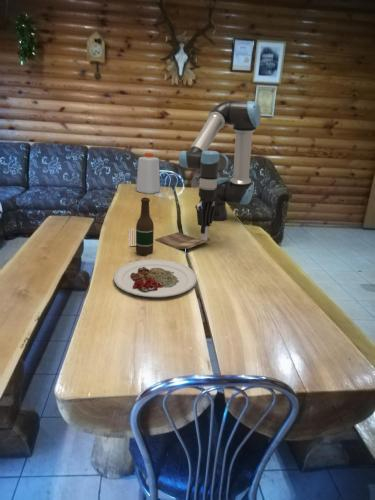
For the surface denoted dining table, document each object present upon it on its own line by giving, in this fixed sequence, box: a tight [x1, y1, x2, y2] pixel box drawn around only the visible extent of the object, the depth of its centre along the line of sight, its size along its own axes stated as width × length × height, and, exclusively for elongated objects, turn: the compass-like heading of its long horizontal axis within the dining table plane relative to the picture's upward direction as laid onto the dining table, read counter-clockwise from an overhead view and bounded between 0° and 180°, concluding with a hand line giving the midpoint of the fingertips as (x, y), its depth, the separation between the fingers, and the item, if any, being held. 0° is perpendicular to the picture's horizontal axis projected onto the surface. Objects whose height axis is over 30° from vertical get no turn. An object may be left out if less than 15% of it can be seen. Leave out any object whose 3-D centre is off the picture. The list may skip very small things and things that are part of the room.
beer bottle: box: [135, 197, 155, 257], centre depth 144 cm, size 8×8×24 cm
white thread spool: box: [135, 152, 161, 195], centre depth 254 cm, size 15×15×28 cm
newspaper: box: [127, 228, 136, 248], centre depth 164 cm, size 24×7×2 cm, turn 8°
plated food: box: [112, 258, 197, 298], centre depth 125 cm, size 30×30×3 cm
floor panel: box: [154, 231, 197, 249], centre depth 164 cm, size 16×12×1 cm
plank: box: [173, 237, 211, 250], centre depth 157 cm, size 16×8×1 cm, turn 139°
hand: (203, 239), depth 157 cm, fingers closed
